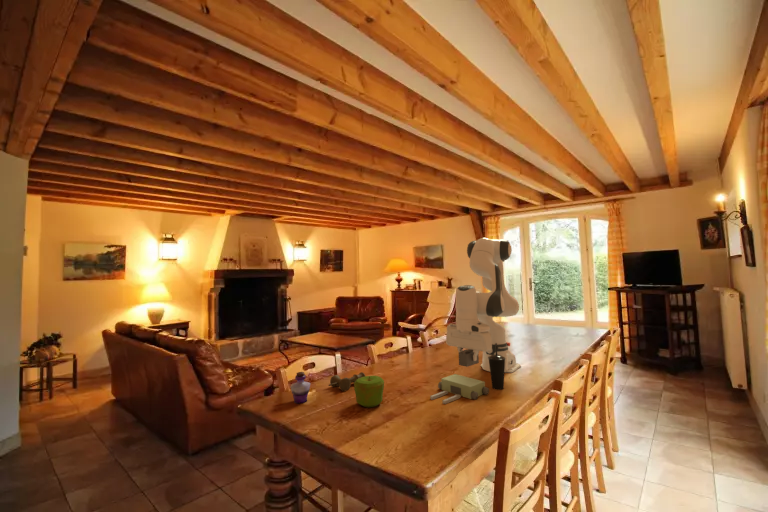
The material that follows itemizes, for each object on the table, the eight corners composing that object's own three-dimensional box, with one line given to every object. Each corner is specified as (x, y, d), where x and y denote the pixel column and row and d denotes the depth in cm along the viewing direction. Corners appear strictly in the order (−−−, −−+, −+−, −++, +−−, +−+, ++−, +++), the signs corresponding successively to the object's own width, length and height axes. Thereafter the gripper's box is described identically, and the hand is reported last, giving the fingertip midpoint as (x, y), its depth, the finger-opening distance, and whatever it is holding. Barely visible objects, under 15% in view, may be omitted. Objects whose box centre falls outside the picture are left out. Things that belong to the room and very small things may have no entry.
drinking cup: (487, 389, 154) (485, 344, 155) (490, 384, 161) (489, 341, 162) (505, 391, 151) (503, 345, 152) (508, 386, 157) (506, 342, 158)
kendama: (369, 385, 166) (334, 394, 153) (357, 381, 173) (322, 390, 160) (369, 372, 166) (334, 380, 153) (357, 369, 174) (322, 376, 161)
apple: (368, 396, 149) (368, 370, 149) (391, 402, 141) (390, 374, 142) (348, 405, 139) (347, 377, 140) (370, 413, 131) (370, 382, 132)
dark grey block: (470, 361, 145) (470, 347, 145) (478, 362, 142) (478, 348, 142) (458, 364, 140) (458, 350, 140) (467, 366, 137) (466, 352, 137)
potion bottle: (314, 398, 148) (314, 370, 149) (305, 405, 140) (304, 376, 141) (296, 397, 151) (296, 369, 151) (286, 404, 142) (285, 374, 143)
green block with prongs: (453, 383, 163) (453, 373, 163) (489, 393, 148) (488, 382, 149) (420, 395, 149) (420, 383, 149) (456, 408, 134) (455, 395, 134)
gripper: (442, 323, 147) (443, 356, 146) (484, 328, 132) (485, 365, 131) (451, 322, 151) (452, 353, 151) (493, 326, 136) (494, 362, 135)
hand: (468, 359), depth 141 cm, fingers closed on dark grey block, 4 cm apart
